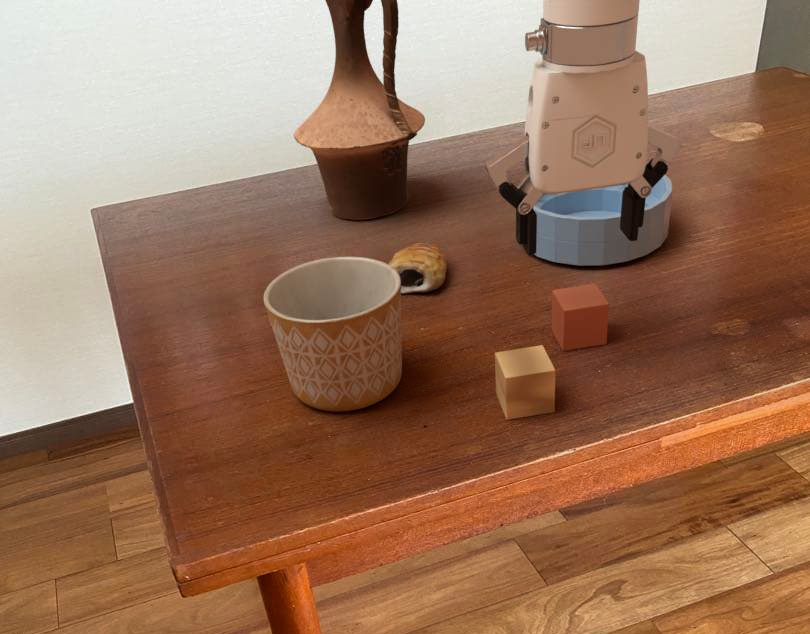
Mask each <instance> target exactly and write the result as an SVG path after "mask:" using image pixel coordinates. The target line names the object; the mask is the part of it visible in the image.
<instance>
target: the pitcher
mask: <svg viewBox="0 0 810 634" xmlns="http://www.w3.org/2000/svg"><path fill="white" fill-rule="evenodd" d="M324 1H325V4H326V5H327V8H328V11H329V14H330V18H331V19H330V20H331V23H332V29H333V34H334V35H333V36H334V44H335V45H334V46H335V58H334V59H335V61H334V68H333V73H332V76H331V77H332V78H331V80H330V84H329V87H328V89H327V92H326V94H325V96H324V98H322V101H321V102H320V104H319V105H318V106H317V107H316V109H314V111H313V112H312V113H311V114H310V115H309V116H308V117H307V118H306V119H305V120H304V121H303V122H302V124H300V125H299V126H298V127H297V128H296V130H295V131H294V134H293V137H294V140H295V141H296V143H298V144H299V145H301V146H303V147H305V148H308V149H310V150H311V151H312V153H313V156H314V158H315V161H316V163H317V167H318V170H319V173H320V178H321V179H322V182H323V186H324V190H325V193H326V197H327V202H328V207H329V211H330V213H331V214H332V215H334V216H335V217H337V218H340V219H346V220H355V221H356V220H357V221H358V220H369V219H376V218H378V217H383V216H387V215H391V214H393V213H396V212H397V211H399V210H401V209H403V208H404V207H405V206H406V205H407V203H408V201H409V194H408V155H409V154H408V152H409V144H410V141H411V140H413V139H414V138H415V137H416V136H418V132H419V131H420V130H421V129H422V128H423V127H424V125H425V123H426V118H425V117H426V116H425V115H424V114H423V113H422V112H421V111H420V110H419V109H416V108H415V107H412V106H410V105H409V104H407V103H405V102H404V101H402V99H399V98H398V96H397V91H396V79H395V78H396V75H395V74H396V73H395V67H396V58H397V53H396V50H397V43H398V35H399V21H400V20H399V19H400V18H399V3H398V0H380V2H381V8H382V23H383V24H382V25H383V28H382V30H383V38H382V45H383V49H382V54H383V55H382V69H383V70H382V74H383V76H382V79H383V82H382V81H381V80H380V78H379V77H378V75H377V73H376V72H375V69H374V67H373V66H372V63H371V61H370V57H369V55H368V54H369V53H368V49H367V44H366V43H367V42H366V36H365V35H366V34H365V14H366V11H367V10H368V9H370V7H372V3H373V1H374V0H324Z"/></svg>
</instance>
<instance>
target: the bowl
mask: <svg viewBox="0 0 810 634" xmlns="http://www.w3.org/2000/svg"><path fill="white" fill-rule="evenodd" d="M628 184H629V183H628ZM628 184H624V185H618V186H612V187H605V188H598V189H591V190H583V191H576V192H569V193H560V194H543V195H542V196H541V198H540V199H539V200H538V201H537V203H536V204H535V205H534V207H533V209H534V211H535V213H536V215H537V241H536V253H535V254H534V255H533V256H536V257H537V258H540V259H543V260H546V261H548V262H549V261H550V262H552V263H557V264H558V263H559V264H563V265H565V264H566V265H570V266H571V265H572V266H580V267H582V266H583V267H584V266H606V265H607V266H609V265H614V264H619V263H626V262H630V261H632V260H635V259H638V258H642V257H644V256H647V255H649V254H651V253H652V252H654V251H655V250H657V249H658V248H660V247H662V245H663V244H664V242H665V240H666V239H667V238H668V235H669V228H670V218H671V208H672V199H673V191H674V190H673V182H672V180H671V178H669V177H668V176H667V174H665V175H664V176H663V177H662V178H661V179H660V180H659V181H658V183H657V184H656V185H655V186H654V187H653V188H652V192H651V194H650V195H649V196H648V197H646V200H645V210H644V220H643V226H642V227H639V229H638V239H637V241H630V240H628V239H627V237H626V236H625V235H624V233H623V232H622V231H621V230H620V218H621V206H622V194H623V190H624V189H625V187H628Z"/></svg>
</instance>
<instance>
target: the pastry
mask: <svg viewBox="0 0 810 634" xmlns="http://www.w3.org/2000/svg"><path fill="white" fill-rule="evenodd" d="M387 264H388V265H390V266H391V267H392V268H394V269H395V270H396V271H397V273H398V274H399V276H400V279H401V295H407V294H413V293H429V292H431V291H436V290H437V289H438V288H440V287H441V286H442V285H443V284H444V282H445V279H446V272H447V268H448V266H447V265H448V264H447V259H446V257H445V254H444V253H443V250H442V249H441V248H440V246H439V245H436V244H432V243H431V244H430V243H426V242H416V243H414V244H412V245H410V246H406V247H405V248H403V249H400V250H399V251H397V252H395V253H394V255H393V257H392V259H390V260H389V261H388V263H387Z"/></svg>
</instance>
